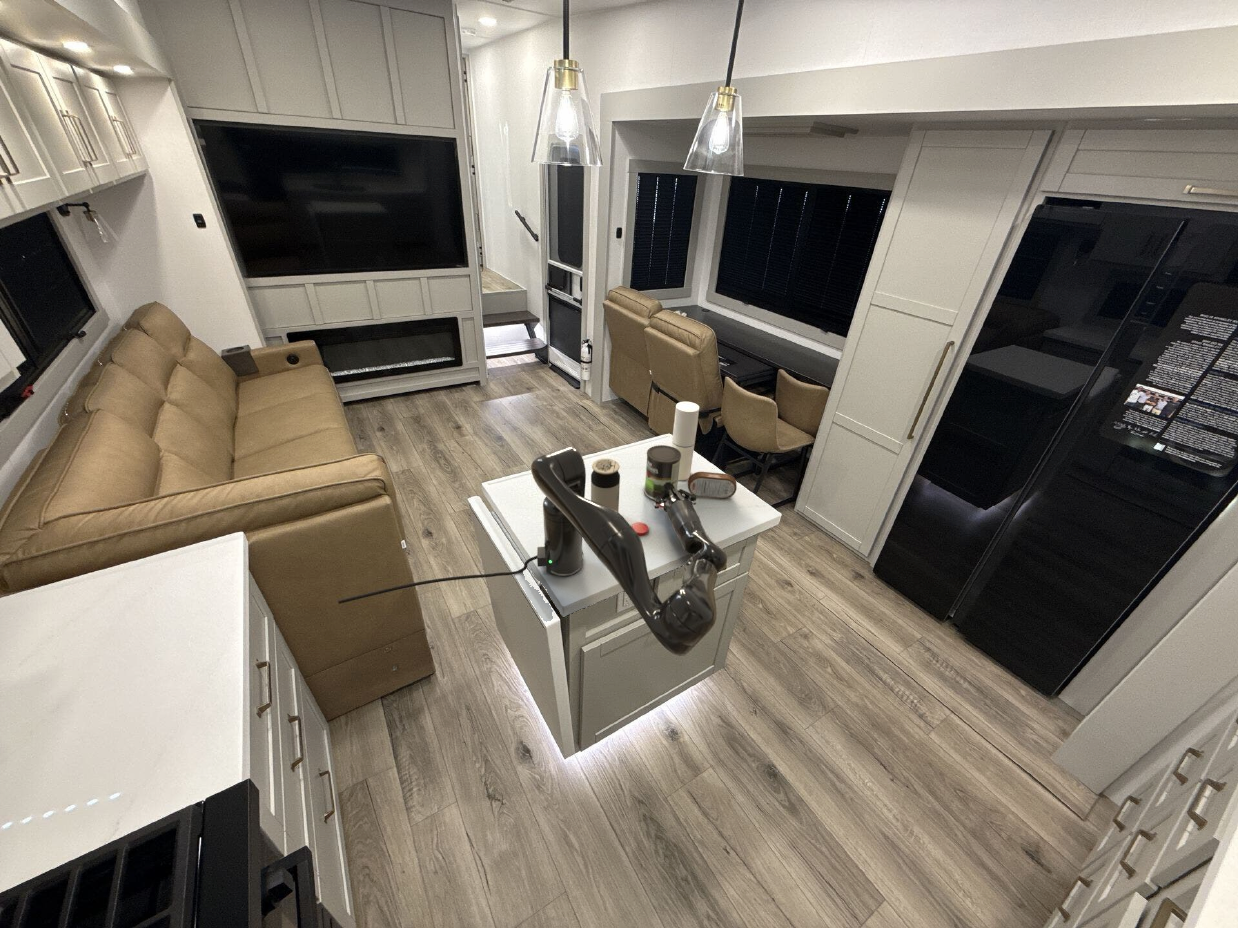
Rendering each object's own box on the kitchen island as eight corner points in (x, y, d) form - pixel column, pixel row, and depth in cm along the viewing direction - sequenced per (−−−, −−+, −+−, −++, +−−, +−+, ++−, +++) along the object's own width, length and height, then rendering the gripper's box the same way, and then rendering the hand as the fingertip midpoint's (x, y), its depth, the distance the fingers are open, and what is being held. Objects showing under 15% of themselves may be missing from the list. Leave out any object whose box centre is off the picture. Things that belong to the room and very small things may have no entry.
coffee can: (654, 504, 146) (657, 464, 139) (638, 487, 154) (640, 448, 147) (683, 496, 150) (687, 457, 143) (666, 480, 158) (669, 442, 151)
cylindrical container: (666, 477, 159) (673, 409, 146) (671, 466, 165) (678, 400, 151) (688, 482, 157) (697, 413, 144) (691, 470, 163) (701, 403, 150)
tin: (733, 495, 152) (738, 473, 147) (734, 501, 149) (739, 479, 145) (686, 491, 153) (689, 469, 148) (686, 497, 150) (689, 474, 146)
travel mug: (587, 523, 138) (587, 470, 128) (595, 506, 144) (595, 455, 135) (614, 528, 136) (616, 475, 127) (621, 511, 143) (623, 460, 133)
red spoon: (598, 548, 129) (598, 545, 128) (591, 538, 133) (591, 535, 132) (651, 532, 135) (651, 529, 135) (643, 523, 139) (643, 520, 138)
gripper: (660, 533, 132) (645, 496, 146) (706, 528, 134) (686, 492, 148) (662, 512, 128) (646, 476, 142) (709, 507, 130) (689, 472, 144)
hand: (667, 484), depth 145 cm, fingers closed
